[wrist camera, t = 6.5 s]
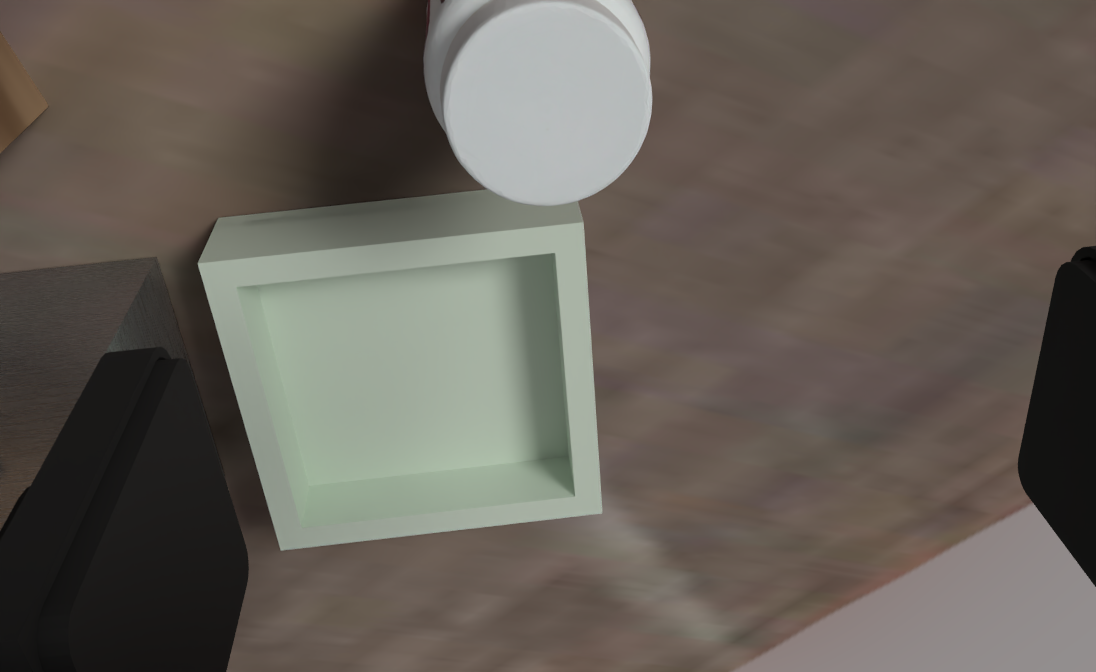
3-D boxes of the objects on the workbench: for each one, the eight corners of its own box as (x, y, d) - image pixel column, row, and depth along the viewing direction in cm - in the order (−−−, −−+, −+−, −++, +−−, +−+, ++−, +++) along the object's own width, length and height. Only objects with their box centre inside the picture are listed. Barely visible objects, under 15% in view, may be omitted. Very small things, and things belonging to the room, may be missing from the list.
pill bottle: (565, 120, 28) (606, 258, 21) (401, 52, 27) (384, 175, 20) (644, -46, 26) (719, 44, 19) (470, -129, 25) (479, -66, 17)
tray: (218, 217, 29) (197, 263, 26) (572, 180, 29) (583, 222, 27) (292, 491, 34) (280, 550, 31) (591, 457, 34) (602, 513, 32)
